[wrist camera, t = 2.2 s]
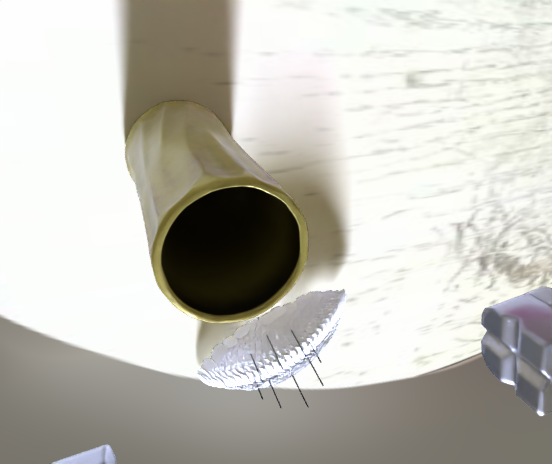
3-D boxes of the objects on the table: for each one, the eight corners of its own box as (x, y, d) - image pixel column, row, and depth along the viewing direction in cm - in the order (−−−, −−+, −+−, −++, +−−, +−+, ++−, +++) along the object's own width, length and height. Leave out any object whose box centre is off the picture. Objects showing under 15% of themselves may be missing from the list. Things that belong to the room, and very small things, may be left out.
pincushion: (328, 258, 34) (367, 308, 29) (354, 314, 37) (392, 366, 32) (175, 347, 33) (190, 413, 28) (216, 396, 36) (235, 461, 32)
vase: (249, 131, 29) (354, 210, 16) (202, 219, 30) (266, 356, 18) (154, 79, 26) (193, 127, 14) (106, 177, 28) (102, 304, 15)
